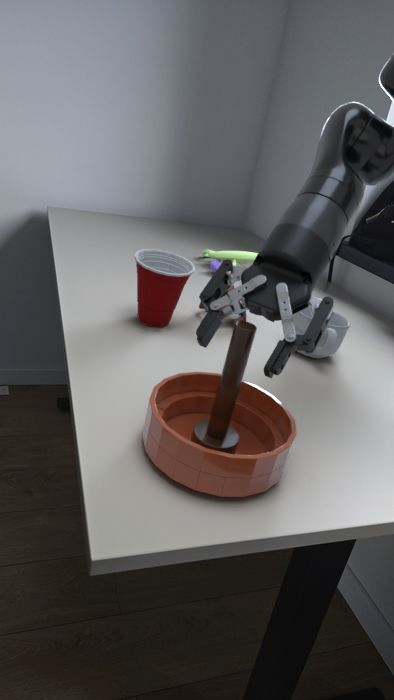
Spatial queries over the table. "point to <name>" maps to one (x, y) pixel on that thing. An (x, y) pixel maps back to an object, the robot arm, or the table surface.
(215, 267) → the figurine
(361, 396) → the table surface
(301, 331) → the teacup
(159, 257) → the plastic cup
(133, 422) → the table surface
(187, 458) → the bowl
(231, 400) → the brown rod with base
